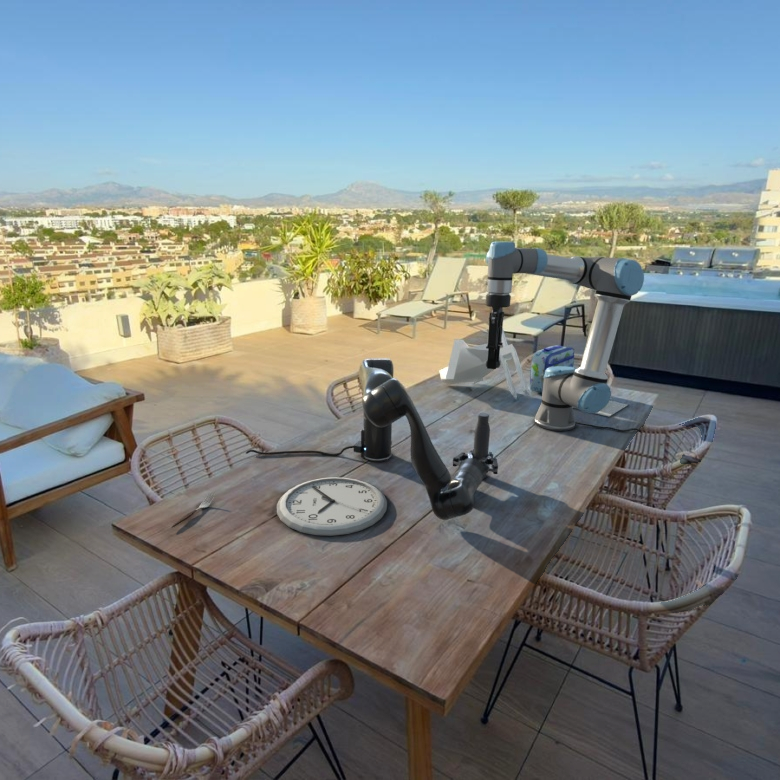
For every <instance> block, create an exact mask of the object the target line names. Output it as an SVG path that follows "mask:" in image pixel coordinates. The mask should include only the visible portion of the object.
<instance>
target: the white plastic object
mask: <svg viewBox="0 0 780 780" xmlns="http://www.w3.org/2000/svg"><path fill="white" fill-rule="evenodd" d="M501 343H503V345H502V347H500V354H499V360H500V366H502V370H503V373H504V376H505V380H506V383H507V386H508V390H509V393H510V394H511V395H512V397H513V398H514V399H515V400H517V392H516V391H517V390H516V388H515V385H514V381H513V378H512V375H511V371H510V369H509V365H508V361H510V360H513V363H514V366H515V369H516V372H517V376H518V380H519V382H520V385H521V389H522V391H523V393H524V395H525V396H526V397H528V396H531V395H530V389H529V388H528V387H529V386H528V384H527V381H526V378H525V375H524V371H523V369H522V368H523V367H522V366H521V362H520V359H519V355H518V352H517V349H516V347H515V346H514V345H513V343H511V344H508V341H507V337H506V334H505V331H504V328H502V341H501ZM487 345H488V342H487V343H483V344H479V345H473V346H469V345H468V343H466V342H465V340H464V339H463V338H460V339H458V338H454V340H453V344H452V349H451V353H450V357H449V362H448V366H446V367H444V368H442V369H440V370H439V371H438V372H439V376H440V381H442V383H443V384H444V385H445V386H449V385H458V384H467V383H468V384H469V383H473V384H477V383H480V382H482V381H484V378H485V377H486V376H487V375H489V374H490V373H492V372H494V371H495V369H487V367H486V360H487V359H488V349H487V348H486V347H487Z"/></svg>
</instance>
